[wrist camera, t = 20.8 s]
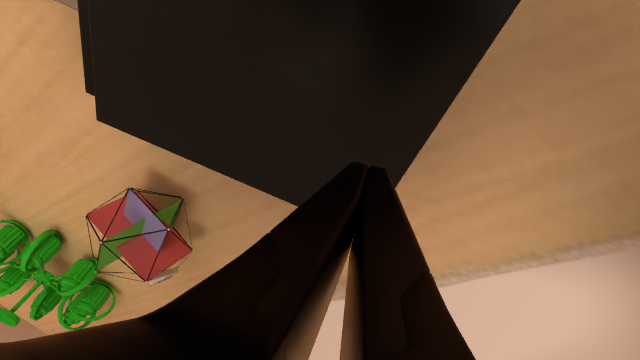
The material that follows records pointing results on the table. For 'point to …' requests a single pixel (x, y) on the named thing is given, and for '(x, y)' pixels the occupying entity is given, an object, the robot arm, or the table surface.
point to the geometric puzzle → (139, 236)
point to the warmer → (287, 80)
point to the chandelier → (49, 279)
